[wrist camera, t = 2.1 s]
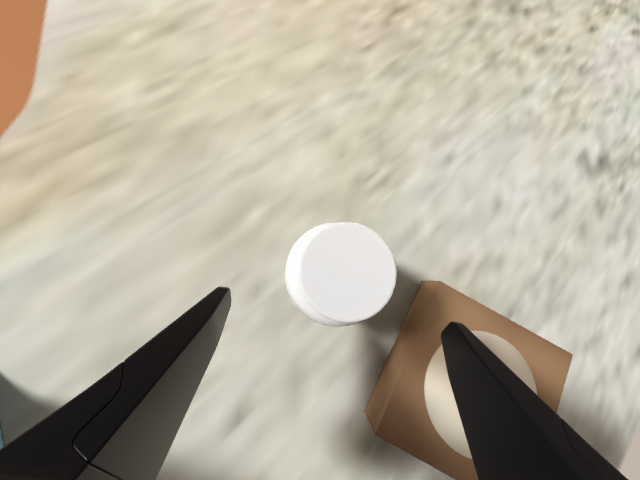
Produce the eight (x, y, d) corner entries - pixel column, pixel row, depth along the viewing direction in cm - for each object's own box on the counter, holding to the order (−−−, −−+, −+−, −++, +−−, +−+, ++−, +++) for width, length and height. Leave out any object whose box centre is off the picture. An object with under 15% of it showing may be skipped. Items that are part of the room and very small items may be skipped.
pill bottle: (360, 247, 19) (420, 215, 9) (352, 312, 18) (411, 352, 8) (296, 237, 19) (291, 194, 9) (286, 303, 18) (267, 334, 8)
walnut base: (493, 483, 17) (529, 522, 14) (364, 411, 17) (376, 436, 14) (537, 344, 19) (575, 355, 16) (421, 280, 19) (441, 281, 16)
